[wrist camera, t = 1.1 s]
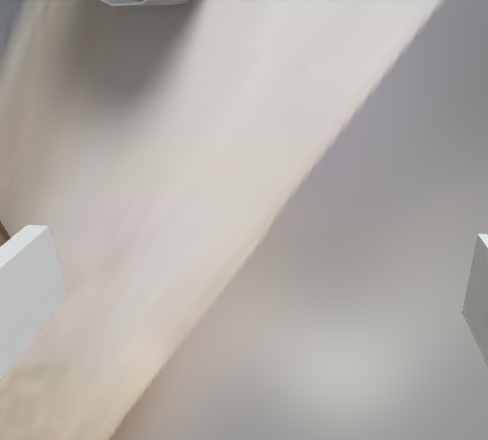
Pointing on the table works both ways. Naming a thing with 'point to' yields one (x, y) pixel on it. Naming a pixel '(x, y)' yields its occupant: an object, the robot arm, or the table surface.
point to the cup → (144, 2)
